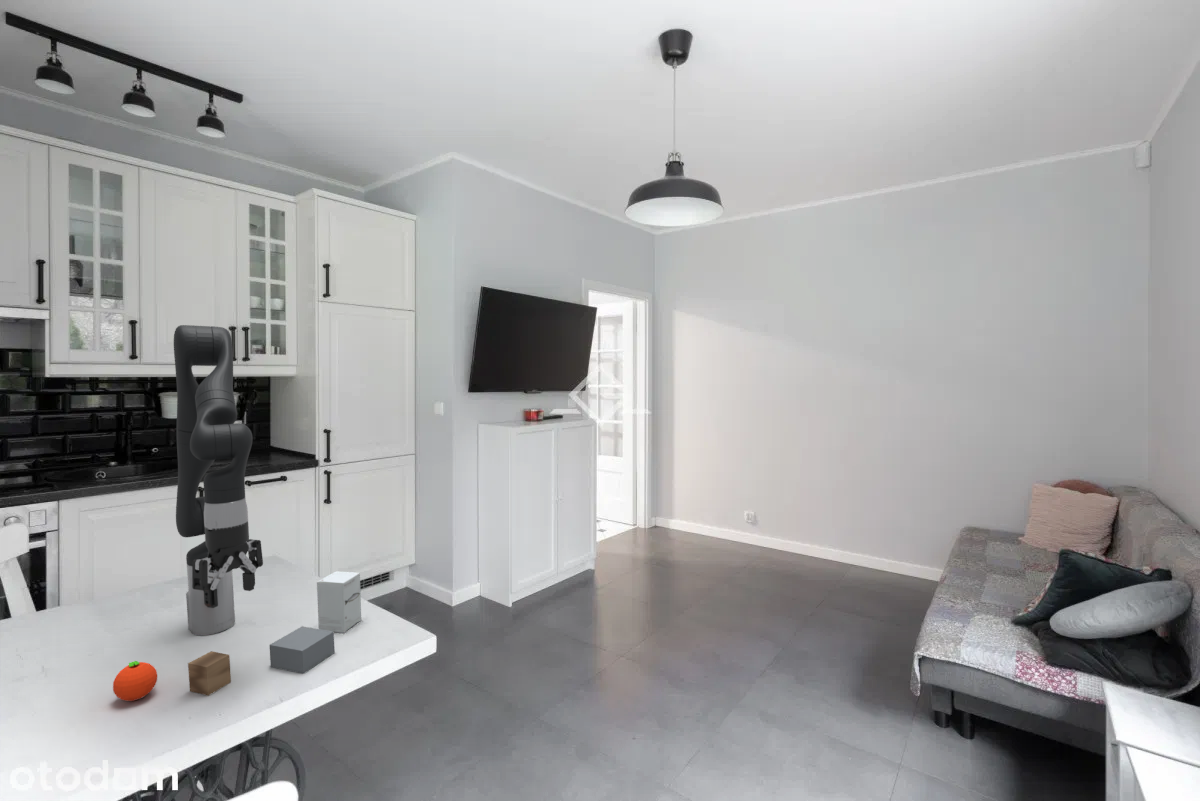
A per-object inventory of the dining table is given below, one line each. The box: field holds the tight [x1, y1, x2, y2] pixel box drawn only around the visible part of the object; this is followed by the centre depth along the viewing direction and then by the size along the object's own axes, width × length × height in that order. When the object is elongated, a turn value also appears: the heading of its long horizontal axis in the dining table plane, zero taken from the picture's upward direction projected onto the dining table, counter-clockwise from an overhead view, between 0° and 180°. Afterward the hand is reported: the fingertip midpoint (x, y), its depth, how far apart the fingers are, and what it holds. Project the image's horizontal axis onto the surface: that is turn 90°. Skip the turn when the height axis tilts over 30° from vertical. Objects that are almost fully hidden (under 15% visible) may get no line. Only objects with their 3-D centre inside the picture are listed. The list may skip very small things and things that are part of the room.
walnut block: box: [187, 650, 232, 697], centre depth 119 cm, size 5×5×6 cm
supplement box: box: [316, 570, 362, 634], centre depth 145 cm, size 7×7×13 cm
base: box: [269, 625, 336, 674], centre depth 129 cm, size 9×9×5 cm
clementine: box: [112, 660, 158, 702], centre depth 115 cm, size 8×7×7 cm
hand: (231, 598), depth 120 cm, fingers open, 8 cm apart
